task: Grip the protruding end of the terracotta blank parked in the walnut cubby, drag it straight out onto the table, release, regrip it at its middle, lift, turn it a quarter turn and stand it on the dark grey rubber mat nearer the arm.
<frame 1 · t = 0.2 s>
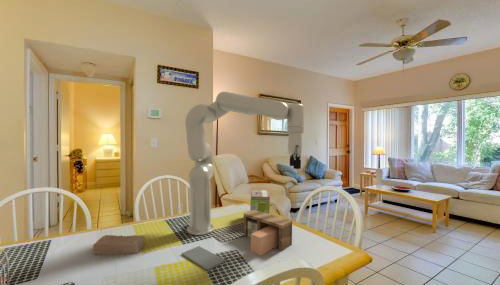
hand: (294, 167, 111), 31 cm above the table, tool pointing down, fingers open, 9 cm apart
cubby: (278, 240, 103), on the table
tea box: (259, 220, 128), on the table
blank: (265, 248, 96), on the table
brick: (120, 250, 95), on the table
mat: (202, 258, 88), on the table
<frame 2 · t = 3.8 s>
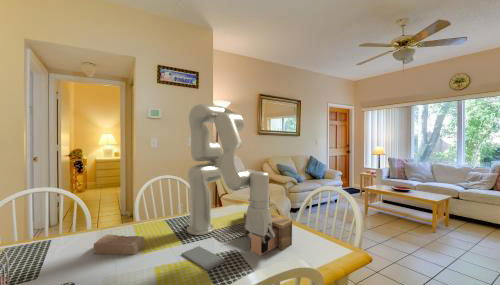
hand: (259, 248, 93), 1 cm above the table, tool pointing down, fingers closed on blank, 5 cm apart
blank: (265, 247, 96), on the table, touching gripper
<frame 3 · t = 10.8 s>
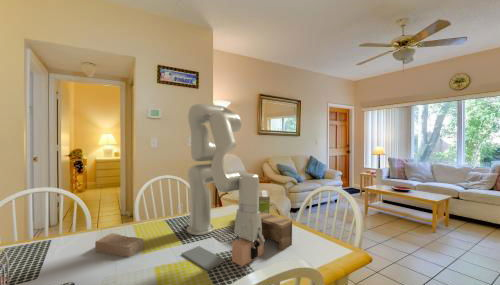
hand: (248, 254, 89), 1 cm above the table, tool pointing down, fingers closed on blank, 5 cm apart
blank: (248, 257, 89), on the table, touching gripper
when the fingers open (3 cm above the table, at t = 16.2 s): blank drops 1 cm, resting on mat.
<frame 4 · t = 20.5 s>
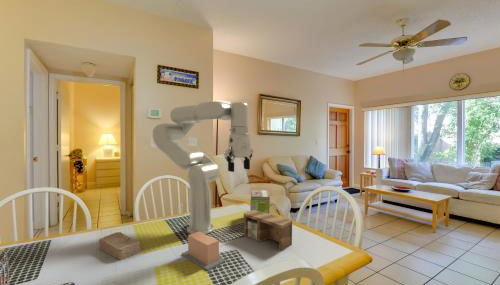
hand: (239, 170, 104), 30 cm above the table, tool pointing down, fingers open, 9 cm apart
blank: (203, 256, 88), point 1 cm above the table, touching mat
at the end: blank inside the target area (0.1 cm from its centre), point 0.6 cm above the table; blank tilted 0°; blank moved 25.0 cm from its start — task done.
